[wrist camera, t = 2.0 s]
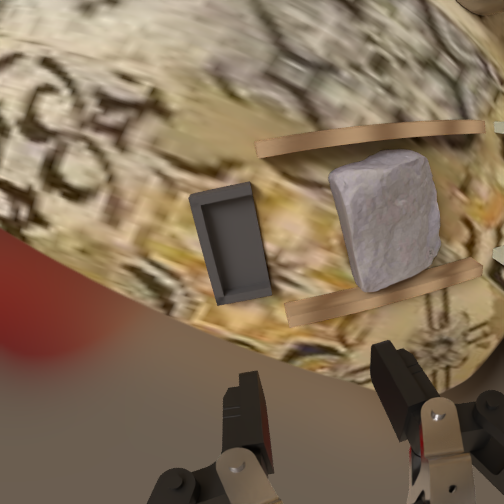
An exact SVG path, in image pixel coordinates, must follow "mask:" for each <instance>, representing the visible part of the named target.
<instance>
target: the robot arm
mask: <svg viewBox="0 0 504 504" xmlns="http://www.w3.org/2000/svg"><path fill="white" fill-rule="evenodd" d="M457 1H458V2H459V3H460V4H461V5H462V6H464V7H465V8H466V9H468V10H469V11H471V12H473V13H475V14H477V15H481V16H489V15H492V14H496V13H500V12H504V0H457ZM370 375H371V380H372V383H373V386H374V388H375V390H376V392H377V394H378V396H379V398H380V400H381V402H382V405H383V407H384V409H385V411H386V413H387V415H388V418H389V420H390V422H391V424H392V426H393V429H394V431H395V433H396V435H397V438H398V440H399V442H402V441H404V440H407V439H408V441H409V443H410V448H409V494H408V498H407V504H476V496H475V485H474V477H473V468H472V465H474V466H475V467H476V468H477V469H478V470H479V471H480V472H481V473H482V474H483V475H484V476H485V477H486V478H487V479H488V480H489V481H490V482H491V483H492V484H493V485H494V486H495V487H496V488H497V489H498V490H499V491H500V492H501V493H502V494H503V495H504V395H503V394H502V393H501V392H498V391H495V390H488V391H485V392H483V393H481V394H480V395H479V397H478V398H477V401H476V402H469V403H462V404H454V403H453V402H452V401H450V400H449V399H447V398H443V397H440V395H439V394H438V392H437V391H436V389H435V388H434V386H433V385H432V383H431V381H430V380H429V378H428V377H427V375H426V374H425V372H423V369H422V368H421V366H420V365H419V364H418V362H417V360H416V359H415V357H414V356H413V354H411V353H409V352H408V351H406V350H405V349H403V348H402V349H399V350H396V349H395V347H394V346H393V344H392V343H391V341H390V340H387V341H384V342H380V343H377V344H373V345H372V346H371V362H370ZM222 441H223V442H222V452H221V455H220V456H219V457H218V459H217V461H216V462H214V463H213V464H212V465H210V466H208V467H206V468H203V469H200V470H197V471H194V472H189V471H188V470H186V469H183V468H173V469H169V470H167V471H166V472H164V473H163V474H162V475H161V476H160V477H159V479H158V481H157V483H156V485H155V487H154V489H153V491H152V494H151V496H150V498H149V500H148V502H147V504H283V502H282V501H281V499H279V497H278V496H277V494H276V492H275V490H274V489H273V487H272V485H271V484H270V482H269V480H268V474H273V473H274V467H273V459H272V450H271V441H270V433H269V424H268V415H267V407H266V401H265V397H264V393H263V389H262V385H261V381H260V378H259V374H258V371H252V372H245V373H240V374H239V386H238V387H232V388H228V390H227V392H226V394H225V395H224V398H223V437H222Z"/></svg>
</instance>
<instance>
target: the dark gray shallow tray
mask: <svg viewBox="0 0 504 504" xmlns="http://www.w3.org/2000/svg"><path fill="white" fill-rule="evenodd" d="M189 202H190V206H191V210H192V214H193V218H194V222H195V226H196V230H197V233H198V237H199V241H200V245H201V248H202V252H203V256H204V260H205V263H206V267H207V271H208V274H209V278H210V281H211V285H212V288H213V292H214V295H215V299H216V302H217V306H219V305H224V304H229V303H235V302H240V301H245V300H250V299H256V298H261V297H266V296H271V295H272V291H271V286H270V282H269V277H268V271H267V266H266V261H265V256H264V251H263V246H262V241H261V236H260V231H259V226H258V221H257V216H256V211H255V206H254V201H253V196H252V190H251V185H250V182H245V183H240V184H235V185H230V186H226V187H221V188H216V189H212V190H207V191H203V192H198V193H194V194H191V195H190V196H189Z"/></svg>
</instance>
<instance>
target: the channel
mask: <svg viewBox="0 0 504 504" xmlns="http://www.w3.org/2000/svg"><path fill="white" fill-rule="evenodd" d="M472 133H486V131H485V121H481V120H433V121H413V122H398V123H385V124H374V125H364V126H355V127H346V128H338V129H330V130H322V131H315V132H308V133H302V134H295V135H289V136H283V137H277V138H271V139H266V140H260V141H255V142H254V144H255V149H256V154H257V157H258V158H264V157H270V156H275V155H281V154H286V153H292V152H298V151H304V150H311V149H317V148H324V147H331V146H338V145H345V144H353V143H361V142H369V141H378V140H387V139H397V138H408V137H420V136H434V135H450V134H472ZM482 271H483V265H481V264H480V263H478V262H477V261H475V260H474V259H473V258H471V257H469V258H465V259H462V260H459V261H455V262H452V263H448V264H444V265H441V266H437V267H434V268H430V269H426V270H423V271H421V272H420V273H418V274H416V275H414V276H412V277H410V278H407V279H404V280H402V281H399V282H397V283H395V284H392V285H389V286H388V287H386V288H382V289H380V290H378V291H375V292H364V291H362V290H361V289H360V287H355V288H351V289H347V290H342V291H338V292H334V293H329V294H325V295H320V296H316V297H311V298H307V299H302V300H297V301H292V302H288V303H284V305H285V310H286V315H287V319H288V323H289V327H290V328H292V327H296V326H301V325H306V324H310V323H315V322H319V321H324V320H328V319H332V318H336V317H341V316H345V315H349V314H353V313H357V312H361V311H365V310H369V309H373V308H376V307H380V306H384V305H388V304H391V303H395V302H399V301H402V300H406V299H409V298H413V297H416V296H420V295H423V294H426V293H430V292H433V291H436V290H440V289H443V288H446V287H449V286H452V285H455V284H458V283H462V282H465V281H468V280H471V279H474V278H477V277H479V276H482Z"/></svg>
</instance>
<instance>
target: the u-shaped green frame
mask: <svg viewBox="0 0 504 504" xmlns="http://www.w3.org/2000/svg"><path fill="white" fill-rule="evenodd" d="M494 129H495V133H502V134H504V122H494ZM492 258H494V259H495V260H497V261H498V262H500V263H501V264H503V265H504V245H503V246H500V247H497V248H494V249H493V257H492Z"/></svg>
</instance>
